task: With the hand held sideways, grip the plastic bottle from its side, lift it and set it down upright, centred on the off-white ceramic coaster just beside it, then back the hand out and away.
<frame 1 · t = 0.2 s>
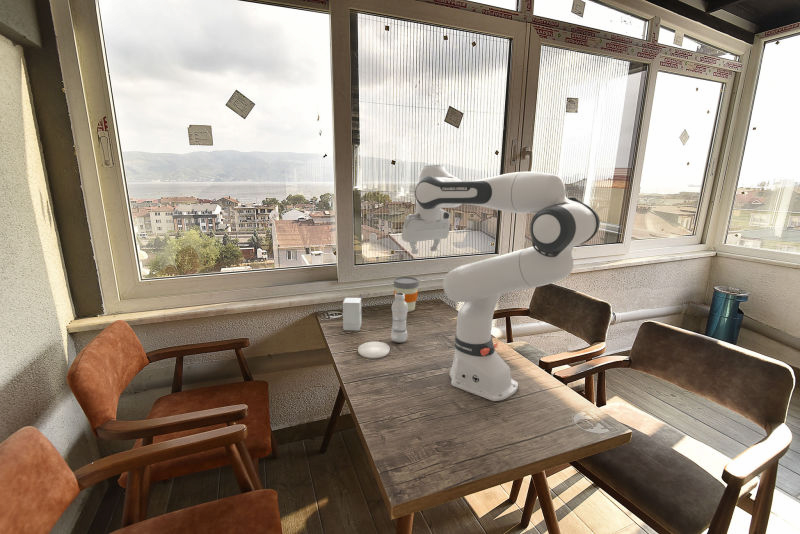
hand: (424, 252, 133), 39 cm above the table, tool pointing down, fingers open, 8 cm apart
supplement box: (352, 327, 165), on the table
reusable coffee cup: (405, 308, 188), on the table
plastic bottle: (399, 341, 151), on the table
coaster: (374, 350, 143), on the table
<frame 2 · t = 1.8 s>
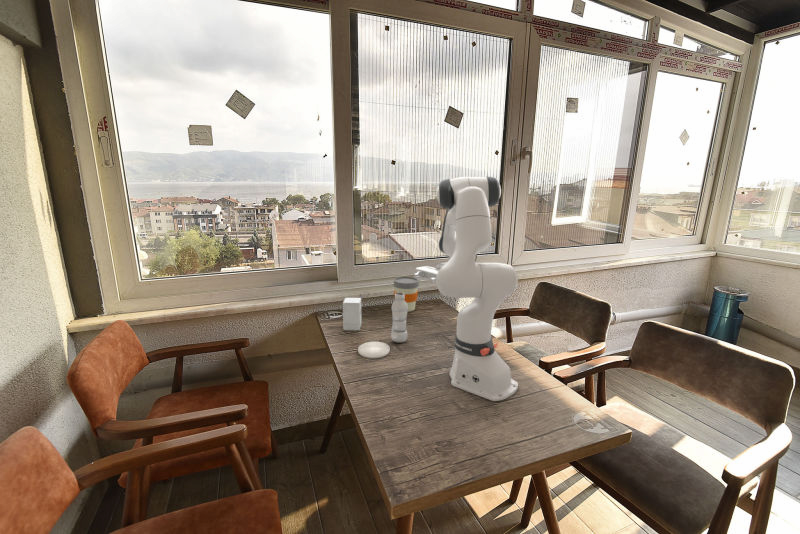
hand: (423, 278, 154), 24 cm above the table, tool horizontal, fingers open, 8 cm apart
nothing on the table moved.
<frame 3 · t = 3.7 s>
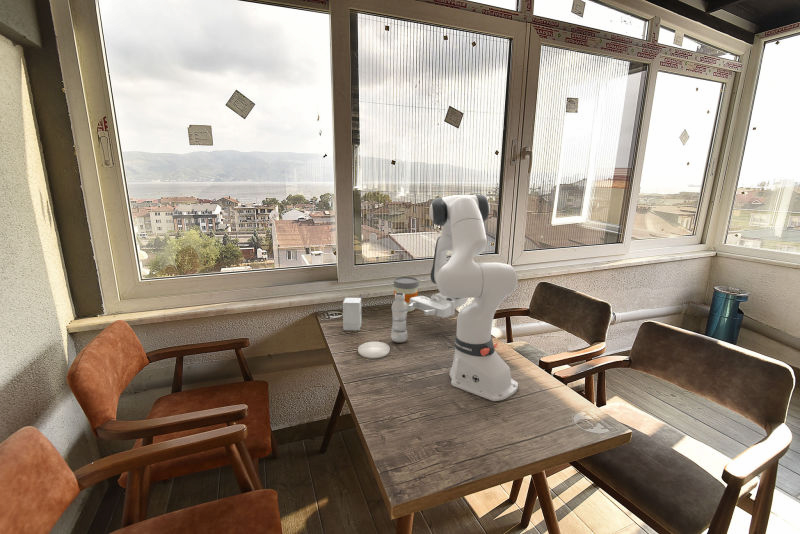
hand: (417, 310, 155), 11 cm above the table, tool horizontal, fingers open, 8 cm apart
nothing on the table moved.
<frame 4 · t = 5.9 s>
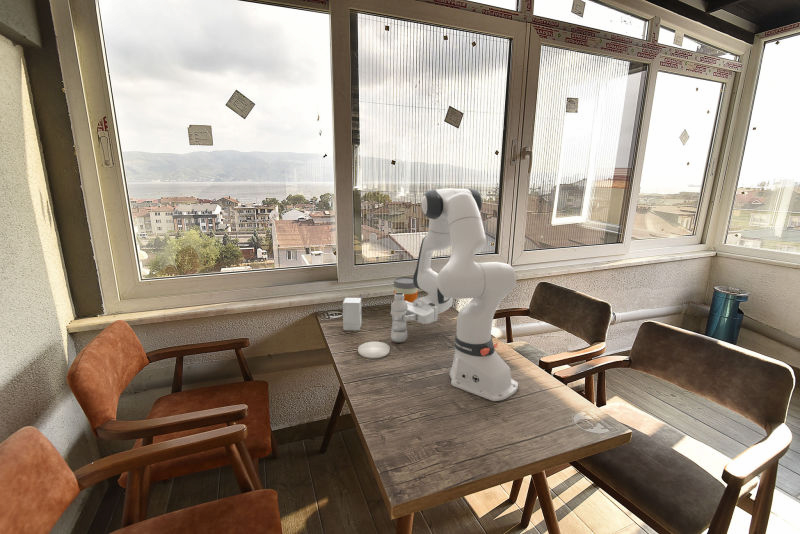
hand: (397, 316, 148), 11 cm above the table, tool horizontal, fingers closed on plastic bottle, 6 cm apart
plastic bottle: (399, 341, 151), on the table, touching gripper
everything else where it was.
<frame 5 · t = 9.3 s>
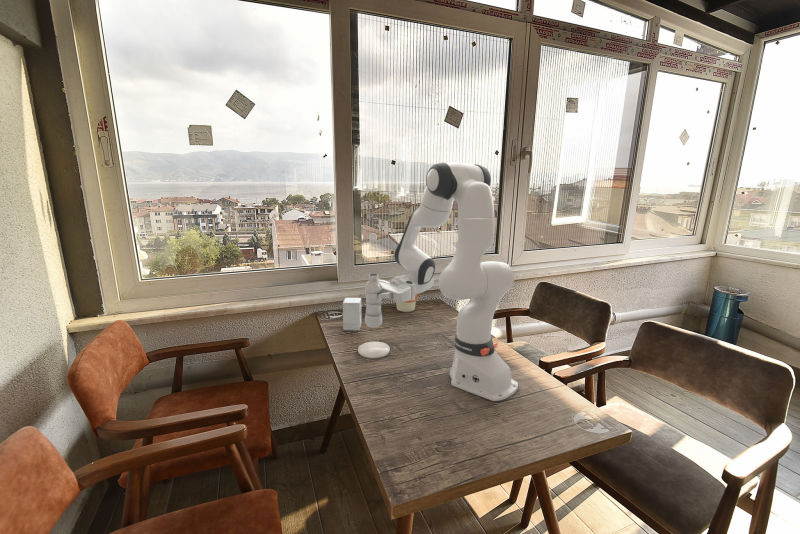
hand: (371, 294, 137), 23 cm above the table, tool horizontal, fingers closed on plastic bottle, 6 cm apart
plastic bottle: (373, 326, 141), point 10 cm above the table, touching gripper
everything else where it was.
when the fingers open (14 cm above the table, at t = 12.0 s): plastic bottle stays where it is, resting on coaster.
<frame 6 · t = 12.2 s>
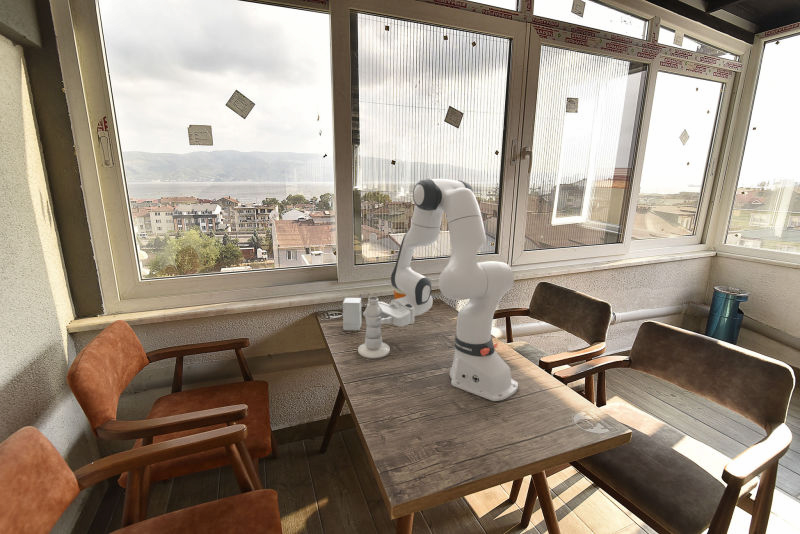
hand: (371, 318, 139), 14 cm above the table, tool horizontal, fingers open, 8 cm apart
plastic bottle: (373, 348, 143), point 1 cm above the table, touching coaster
everything else where it was.
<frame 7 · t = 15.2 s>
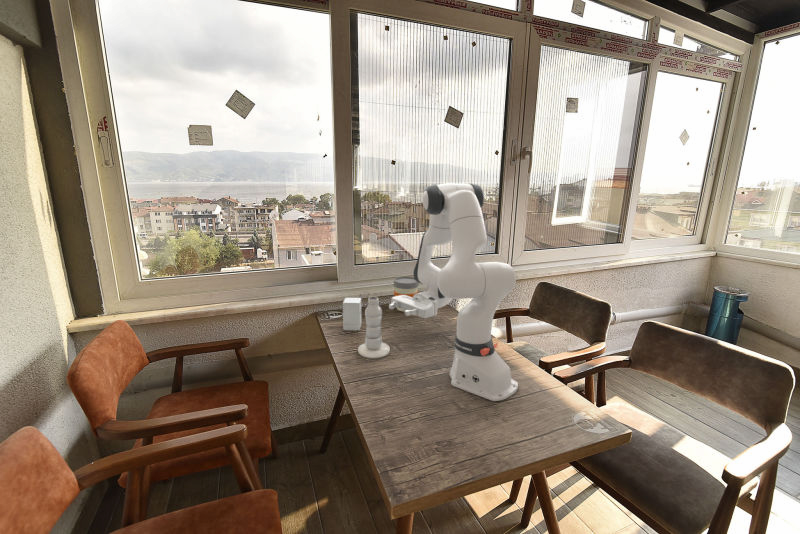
hand: (397, 310, 147), 14 cm above the table, tool horizontal, fingers open, 8 cm apart
nothing on the table moved.
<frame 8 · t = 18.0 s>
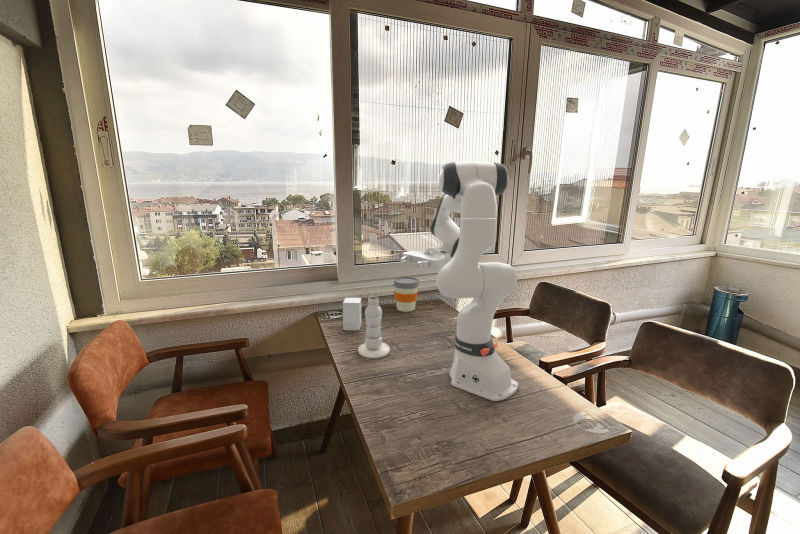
hand: (409, 262, 147), 32 cm above the table, tool horizontal, fingers open, 8 cm apart
nothing on the table moved.
at the end: plastic bottle 0.4 cm from the coaster (horizontally); plastic bottle tilted 0°; plastic bottle touching coaster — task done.
